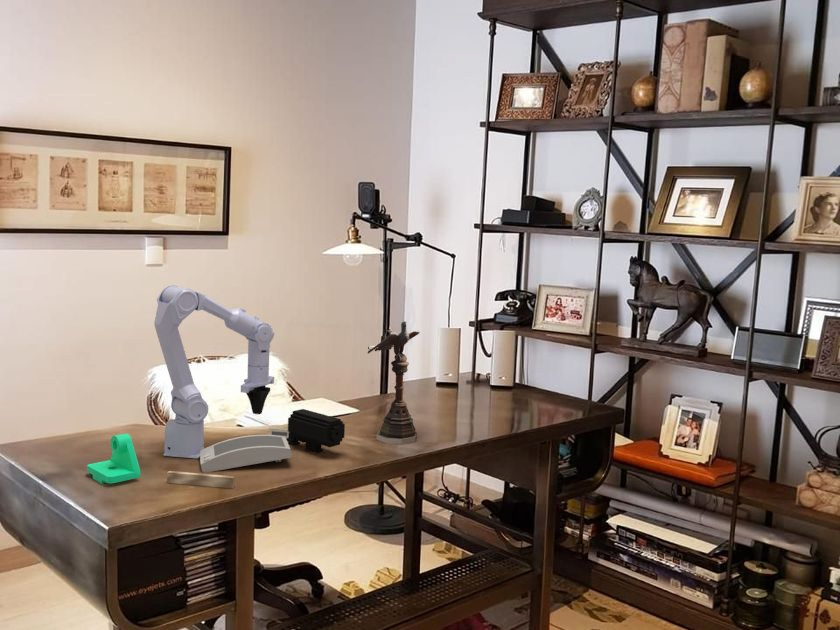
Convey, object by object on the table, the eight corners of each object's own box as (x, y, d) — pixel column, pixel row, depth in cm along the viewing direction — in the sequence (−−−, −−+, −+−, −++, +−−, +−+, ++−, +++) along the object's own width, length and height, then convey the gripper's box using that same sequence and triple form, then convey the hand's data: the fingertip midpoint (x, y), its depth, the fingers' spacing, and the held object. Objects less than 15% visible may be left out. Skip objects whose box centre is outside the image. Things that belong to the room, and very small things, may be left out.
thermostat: (199, 459, 218) (199, 437, 217) (286, 455, 224) (286, 433, 223) (200, 473, 207) (200, 449, 206) (291, 468, 213) (292, 445, 212)
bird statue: (354, 433, 246) (357, 315, 241) (388, 427, 255) (393, 312, 250) (389, 447, 234) (394, 322, 229) (425, 440, 242) (430, 320, 238)
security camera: (298, 440, 237) (299, 405, 235) (345, 455, 225) (347, 418, 224) (279, 445, 231) (280, 410, 230) (327, 460, 220) (328, 423, 219)
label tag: (268, 440, 236) (269, 428, 235) (269, 440, 236) (269, 427, 236) (289, 442, 235) (289, 429, 234) (290, 441, 235) (290, 429, 235)
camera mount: (85, 475, 201) (85, 433, 200) (116, 469, 207) (116, 428, 205) (109, 488, 193) (109, 445, 192) (140, 481, 199) (140, 439, 197)
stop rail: (167, 482, 198) (167, 472, 198) (169, 481, 199) (169, 470, 199) (232, 488, 196) (232, 478, 196) (234, 486, 197) (234, 476, 197)
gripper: (259, 359, 239) (258, 406, 240) (231, 367, 225) (230, 417, 227) (281, 362, 236) (280, 409, 238) (254, 370, 223) (253, 420, 225)
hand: (257, 413), depth 232 cm, fingers closed
